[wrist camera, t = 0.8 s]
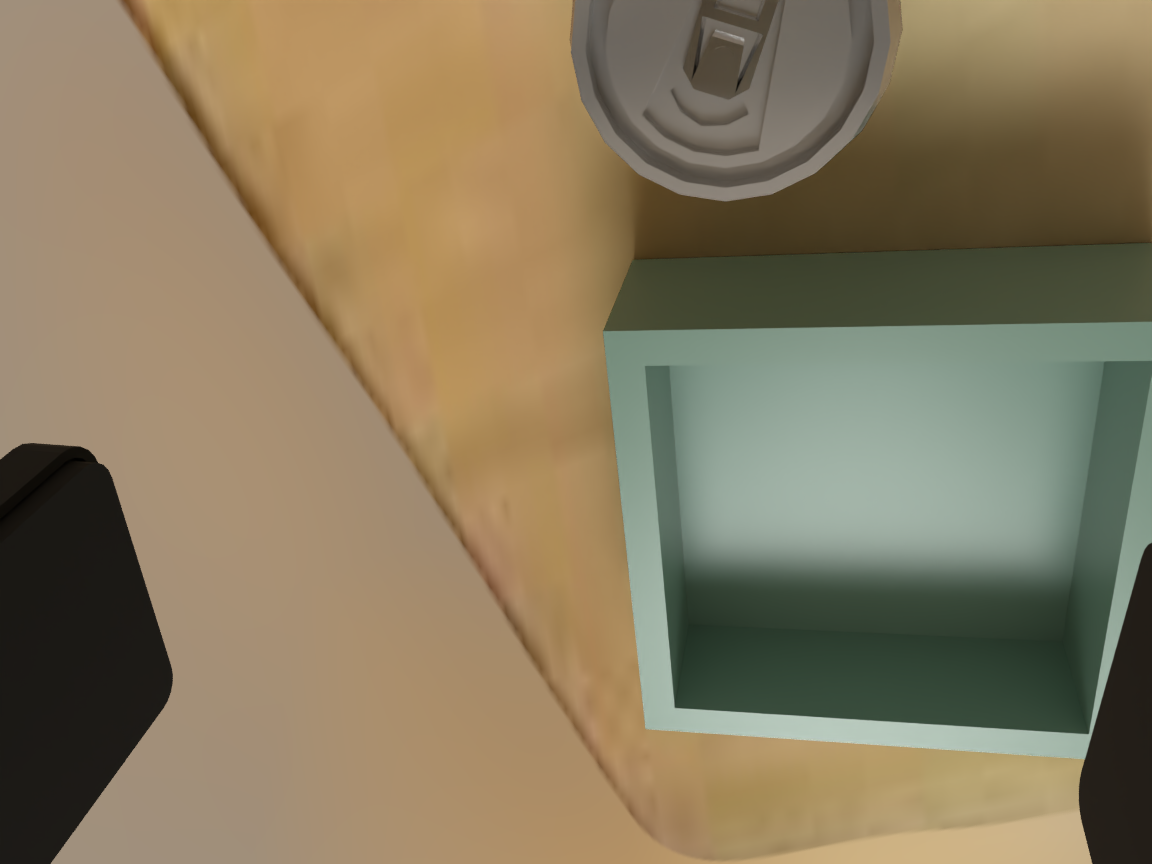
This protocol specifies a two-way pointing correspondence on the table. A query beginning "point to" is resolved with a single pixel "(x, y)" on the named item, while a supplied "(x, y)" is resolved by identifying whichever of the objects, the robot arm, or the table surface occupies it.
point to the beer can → (732, 85)
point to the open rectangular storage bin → (884, 490)
